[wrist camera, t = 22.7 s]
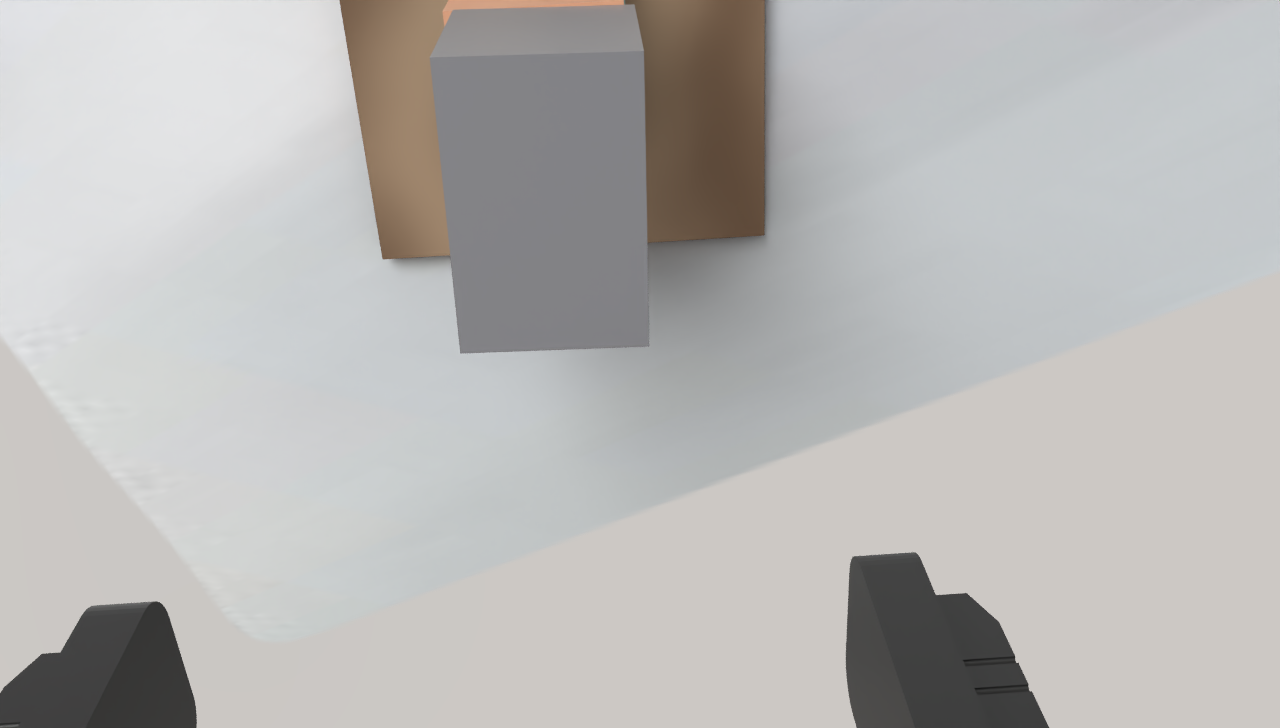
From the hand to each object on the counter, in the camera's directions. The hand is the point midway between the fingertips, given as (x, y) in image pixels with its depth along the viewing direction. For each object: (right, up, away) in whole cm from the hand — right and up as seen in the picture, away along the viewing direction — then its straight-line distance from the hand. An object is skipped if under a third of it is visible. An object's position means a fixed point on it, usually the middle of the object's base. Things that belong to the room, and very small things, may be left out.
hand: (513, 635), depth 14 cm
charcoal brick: (-1, +9, +17) cm, 19 cm away
